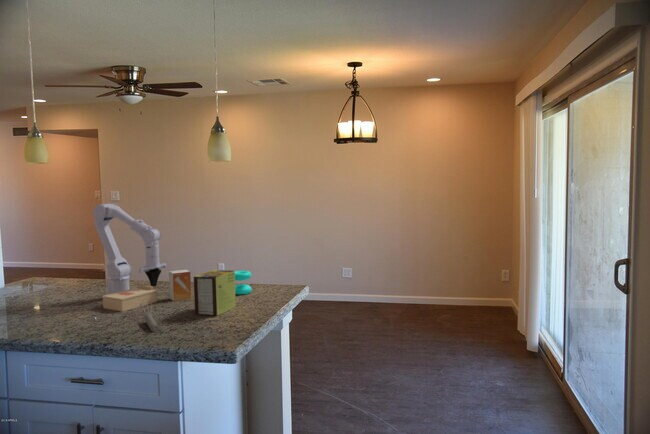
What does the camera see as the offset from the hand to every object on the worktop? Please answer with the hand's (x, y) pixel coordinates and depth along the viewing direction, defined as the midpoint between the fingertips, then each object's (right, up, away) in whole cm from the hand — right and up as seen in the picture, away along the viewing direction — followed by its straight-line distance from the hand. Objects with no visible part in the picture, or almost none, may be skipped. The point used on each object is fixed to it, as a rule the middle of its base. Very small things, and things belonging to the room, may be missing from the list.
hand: (153, 285), depth 228 cm
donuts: (+37, -5, +12) cm, 40 cm away
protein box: (+32, -8, -20) cm, 39 cm away
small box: (+12, -6, -1) cm, 14 cm away
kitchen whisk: (+10, -9, -35) cm, 37 cm away
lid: (-6, -2, -11) cm, 13 cm away
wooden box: (-6, -7, -11) cm, 14 cm away
